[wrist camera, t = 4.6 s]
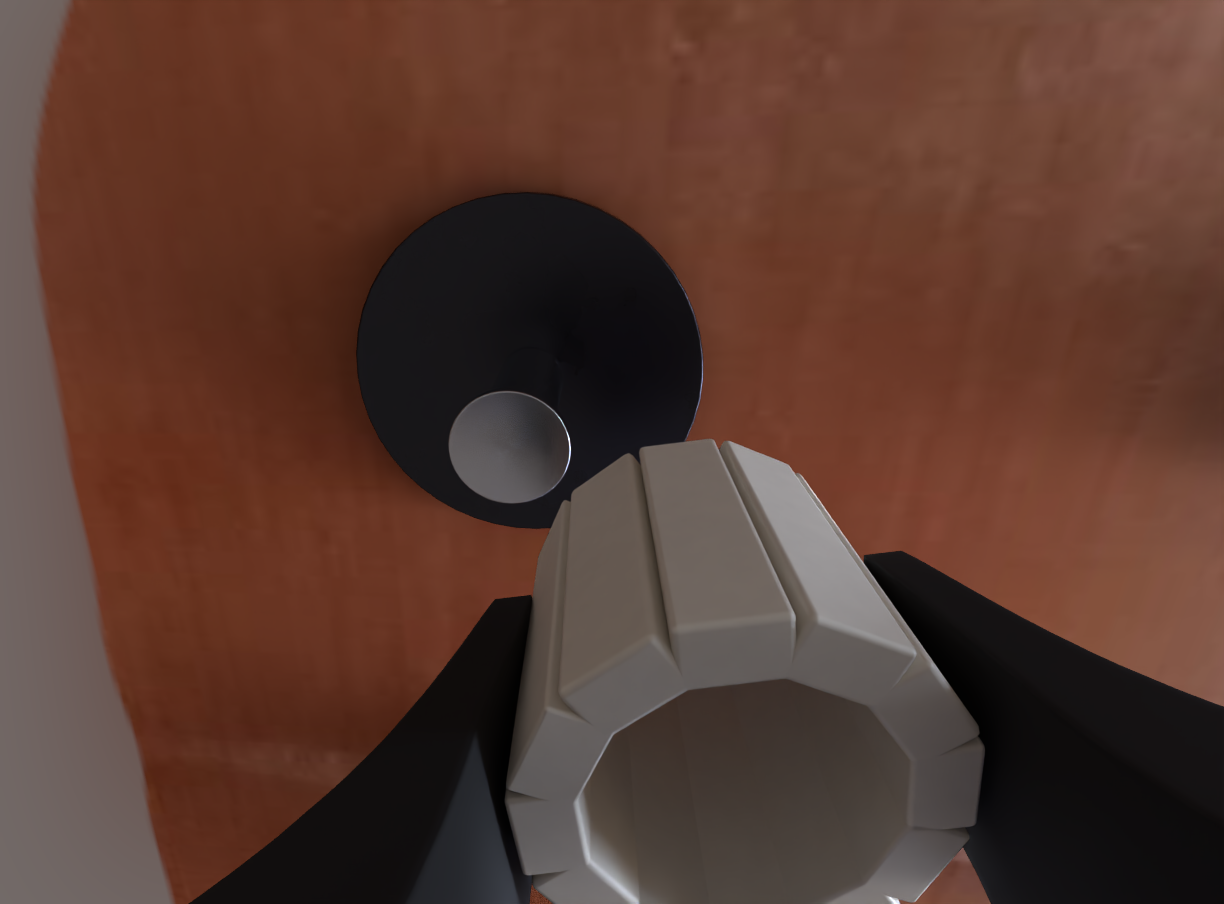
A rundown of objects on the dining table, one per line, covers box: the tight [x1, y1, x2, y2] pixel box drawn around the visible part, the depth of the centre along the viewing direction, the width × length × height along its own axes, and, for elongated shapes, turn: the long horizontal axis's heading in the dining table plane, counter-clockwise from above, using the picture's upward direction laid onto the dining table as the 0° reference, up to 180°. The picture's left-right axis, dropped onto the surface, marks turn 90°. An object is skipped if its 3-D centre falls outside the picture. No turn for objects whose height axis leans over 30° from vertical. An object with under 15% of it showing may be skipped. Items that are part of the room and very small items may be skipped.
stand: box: [356, 192, 703, 529], centre depth 17 cm, size 10×10×6 cm
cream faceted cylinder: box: [504, 439, 985, 904], centre depth 10 cm, size 6×6×5 cm
